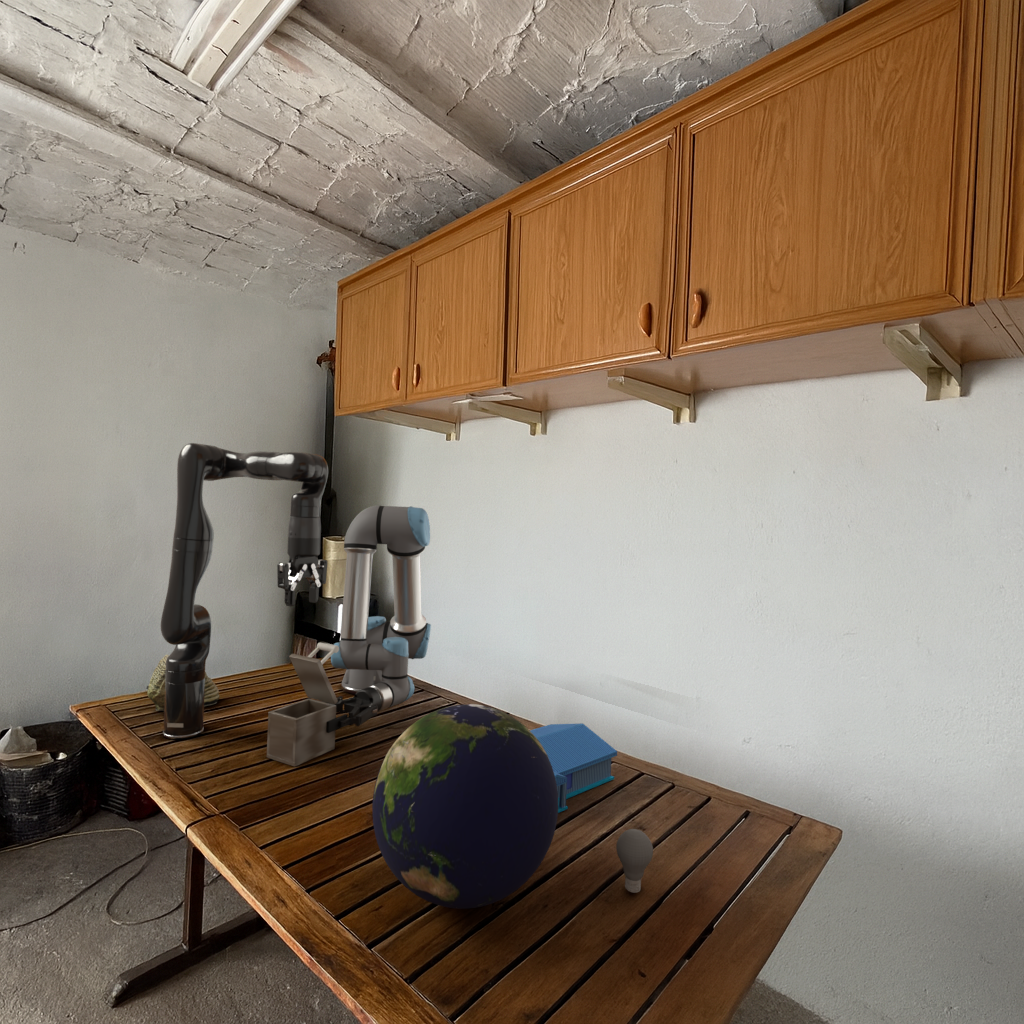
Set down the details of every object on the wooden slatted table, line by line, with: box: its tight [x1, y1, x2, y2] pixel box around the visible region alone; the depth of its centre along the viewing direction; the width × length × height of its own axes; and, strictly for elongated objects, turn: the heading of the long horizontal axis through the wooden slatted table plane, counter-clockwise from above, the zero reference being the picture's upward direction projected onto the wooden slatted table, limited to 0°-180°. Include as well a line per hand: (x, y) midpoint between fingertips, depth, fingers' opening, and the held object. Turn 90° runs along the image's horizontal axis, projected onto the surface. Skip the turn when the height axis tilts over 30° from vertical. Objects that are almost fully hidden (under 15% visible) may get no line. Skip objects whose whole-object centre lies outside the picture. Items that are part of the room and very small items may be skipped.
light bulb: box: [615, 828, 654, 894], centre depth 106 cm, size 6×6×10 cm
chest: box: [266, 698, 337, 767], centre depth 156 cm, size 13×10×11 cm
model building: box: [529, 722, 618, 814], centre depth 142 cm, size 39×24×10 cm, turn 132°
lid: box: [288, 641, 339, 704], centre depth 161 cm, size 14×10×9 cm
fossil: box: [147, 654, 221, 712], centre depth 185 cm, size 9×18×15 cm, turn 132°
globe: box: [371, 703, 559, 910], centre depth 103 cm, size 30×30×30 cm
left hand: (301, 603), depth 153 cm, fingers open, 7 cm apart
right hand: (312, 723), depth 158 cm, fingers closed on chest, 9 cm apart
